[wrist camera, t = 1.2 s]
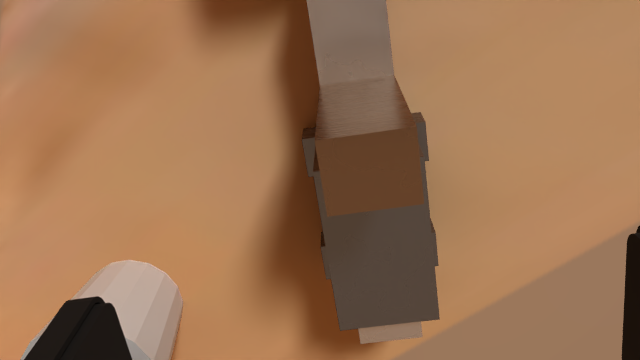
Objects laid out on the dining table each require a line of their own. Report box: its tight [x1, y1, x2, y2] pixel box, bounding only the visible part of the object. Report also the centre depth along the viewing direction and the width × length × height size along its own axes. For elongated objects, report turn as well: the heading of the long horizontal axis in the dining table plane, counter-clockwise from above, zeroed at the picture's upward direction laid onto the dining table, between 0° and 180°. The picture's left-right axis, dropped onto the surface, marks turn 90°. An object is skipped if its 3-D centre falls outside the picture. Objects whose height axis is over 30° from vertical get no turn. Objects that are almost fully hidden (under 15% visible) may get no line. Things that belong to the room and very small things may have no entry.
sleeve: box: [302, 112, 439, 331], centre depth 29 cm, size 6×8×6 cm
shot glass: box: [20, 260, 183, 360], centre depth 31 cm, size 7×7×7 cm
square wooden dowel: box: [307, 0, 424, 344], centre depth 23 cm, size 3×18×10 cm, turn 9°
